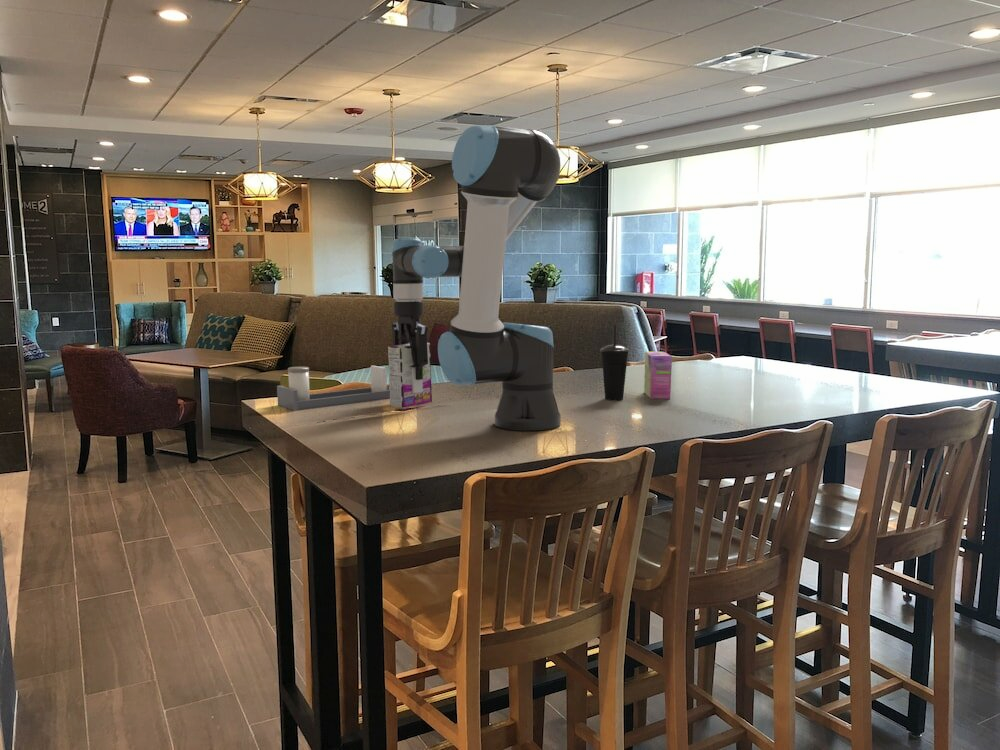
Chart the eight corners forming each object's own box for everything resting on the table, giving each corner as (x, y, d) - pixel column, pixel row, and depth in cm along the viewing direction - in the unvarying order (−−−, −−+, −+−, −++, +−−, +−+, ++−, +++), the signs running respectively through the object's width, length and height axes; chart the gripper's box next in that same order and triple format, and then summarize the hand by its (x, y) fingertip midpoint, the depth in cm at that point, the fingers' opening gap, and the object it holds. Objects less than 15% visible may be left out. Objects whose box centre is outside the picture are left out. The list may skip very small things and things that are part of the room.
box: (671, 399, 215) (672, 355, 213) (650, 399, 215) (650, 355, 213) (664, 392, 225) (665, 351, 223) (643, 392, 225) (644, 351, 223)
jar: (313, 406, 201) (312, 368, 200) (294, 408, 198) (292, 369, 196) (305, 403, 205) (303, 366, 204) (286, 405, 202) (284, 367, 201)
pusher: (394, 396, 215) (394, 367, 214) (383, 397, 213) (382, 368, 211) (382, 393, 220) (381, 364, 219) (371, 394, 218) (370, 365, 217)
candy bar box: (418, 403, 210) (417, 341, 208) (432, 405, 207) (431, 342, 205) (388, 409, 202) (386, 345, 199) (402, 411, 199) (401, 346, 196)
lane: (405, 400, 215) (405, 378, 214) (294, 414, 195) (293, 390, 195) (386, 395, 223) (386, 374, 222) (278, 409, 203) (277, 385, 202)
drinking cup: (627, 396, 218) (628, 324, 215) (629, 401, 211) (630, 326, 208) (599, 396, 219) (600, 324, 216) (600, 401, 212) (601, 326, 209)
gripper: (441, 301, 196) (443, 393, 199) (401, 298, 210) (403, 384, 213) (415, 302, 191) (417, 396, 194) (376, 299, 206) (379, 387, 209)
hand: (410, 390), depth 204 cm, fingers closed on candy bar box, 6 cm apart
